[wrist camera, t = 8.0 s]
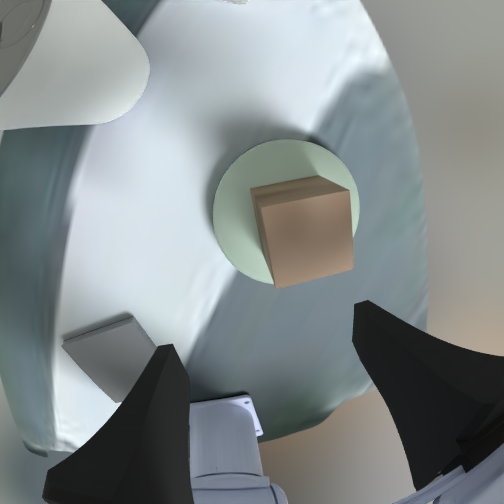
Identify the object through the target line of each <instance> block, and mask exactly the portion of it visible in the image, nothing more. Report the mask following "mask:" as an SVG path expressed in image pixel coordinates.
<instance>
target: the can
mask: <svg viewBox="0 0 504 504" xmlns="http://www.w3.org/2000/svg"><path fill="white" fill-rule="evenodd" d="M149 75H150V63H149V59H148V56H147V53H146V51H145V49H144V48H143V46H142V45H141V43H140V42H139V41H138V40H137V39H136V38H135V36H134V35H133V34H132V33H131V32H130V31H129V30H128V28H127V27H126V26H125V25H124V24H123V23H122V22H121V21H120V20H119V19H118V18H117V16H116V15H115V14H114V13H113V12H112V11H111V10H110V9H109V8H108V7H107V6H106V5H105V4H104V3H103V2H102V1H101V0H0V130H10V129H20V128H31V127H45V126H63V125H95V124H103V123H107V122H110V121H113V120H115V119H117V118H119V117H121V116H122V115H124V114H125V113H126V112H128V111H129V110H130V109H131V108H132V107H133V106H134V105H135V104H136V103H137V101H138V100H139V99H140V97H141V95H142V94H143V92H144V90H145V88H146V85H147V82H148V79H149Z"/></svg>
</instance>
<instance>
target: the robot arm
mask: <svg viewBox="0 0 504 504" xmlns="http://www.w3.org/2000/svg"><path fill="white" fill-rule="evenodd" d="M352 342H353V344H354V347H355V349H356V351H357V354H358V356H359V358H360V360H361V362H362V364H363V366H364V367H365V369H366V371H367V372H368V374H369V376H370V377H371V379H372V381H373V382H374V384H375V386H376V387H377V389H378V390H379V392H380V394H381V395H382V397H383V399H384V401H385V403H386V404H387V406H388V408H389V411H390V413H391V415H392V418H393V420H394V422H395V425H396V427H397V429H398V433H399V435H400V438H401V441H402V444H403V447H404V450H405V453H406V456H407V460H408V463H409V467H410V471H411V475H412V479H413V484H414V487H415V489H416V491H417V492H416V493H414V494H412V495H410V496H408V497H406V498H404V499H402V500H400V501H397V502H395V503H393V504H427V503H428V502H430V501H432V500H434V501H433V504H504V356H495V355H490V354H485V353H480V352H476V351H472V350H469V349H465V348H462V347H459V346H456V345H453V344H450V343H448V342H445V341H443V340H440V339H438V338H436V337H433V336H431V335H429V334H427V333H425V332H423V331H421V330H419V329H417V328H415V327H413V326H412V325H410V324H408V323H406V322H404V321H403V320H401V319H399V318H397V317H396V316H394V315H392V314H391V313H389V312H387V311H386V310H384V309H382V308H381V307H379V306H377V305H376V304H374V303H372V302H370V301H369V300H366V301H363V302H360V303H356V304H354V321H353V336H352ZM189 425H190V471H189V461H188V433H189ZM262 434H263V431H262V428H261V426H260V423H259V420H258V417H257V414H256V412H255V409H254V406H253V403H252V400H251V397H250V396H249V395H242V396H236V397H231V398H225V399H218V400H211V401H204V402H196V403H190V386H189V377H188V375H187V373H186V371H185V369H184V367H183V365H182V362H181V360H180V358H179V356H178V354H177V352H176V350H175V348H174V346H173V344H168V345H161V346H158V347H157V349H156V350H155V352H154V353H153V355H152V357H151V358H150V360H149V362H148V363H147V365H146V367H145V368H144V370H143V372H142V373H141V375H140V376H139V378H138V380H137V381H136V383H135V384H134V386H133V388H132V389H131V391H130V392H129V393H128V395H127V396H126V398H125V399H124V401H123V402H122V403H121V405H120V406H119V407H118V409H117V410H116V411H115V413H114V414H113V415H112V416H111V417H110V418H109V420H108V421H107V422H106V423H105V424H104V425H103V426H102V427H101V428H100V429H99V430H98V431H97V432H96V433H95V434H94V435H93V436H92V437H91V438H90V439H89V440H88V441H87V442H86V443H85V444H84V445H83V446H82V447H80V448H79V449H78V450H77V451H75V452H74V453H73V454H72V455H70V456H69V457H68V458H66V459H65V460H63V461H62V462H60V463H59V464H57V465H56V466H54V467H52V468H51V469H49V470H48V472H47V476H46V481H45V485H44V490H43V495H42V498H43V499H44V500H45V501H46V502H47V503H49V504H288V501H287V498H286V495H285V493H284V491H283V490H282V489H281V488H280V487H279V486H277V485H276V484H275V483H272V484H270V483H269V478H268V476H265V477H264V476H263V471H262V467H261V460H260V455H259V449H258V443H257V437H256V436H260V435H262ZM190 473H191V478H190ZM435 498H436V499H435Z"/></svg>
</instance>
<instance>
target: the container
mask: <svg viewBox="0 0 504 504" xmlns="http://www.w3.org/2000/svg"><path fill="white" fill-rule="evenodd" d="M219 1H224V2H229V3H234V4H239V5H244V4H246V3H247V2H248V0H219Z"/></svg>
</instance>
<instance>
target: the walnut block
mask: <svg viewBox="0 0 504 504" xmlns="http://www.w3.org/2000/svg"><path fill="white" fill-rule="evenodd" d="M250 192H251V197H252V202H253V207H254V212H255V217H256V222H257V227H258V233H259V238H260V243H261V248H262V253H263V256H264V259H265V261H266V264H267V266H268V269H269V272H270V274H271V277H272V280H273V282H274V285H275V288H276V289H278V288H282V287H286V286H290V285H294V284H298V283H302V282H306V281H310V280H314V279H318V278H322V277H326V276H329V275H333V274H337V273H341V272H344V271H348V270H352V269H354V259H353V231H352V213H351V199H350V190H348V189H346V188H344V187H342V186H340V185H338V184H336V183H334V182H332V181H330V180H328V179H326V178H324V177H322V176H320V175H317V176H311V177H306V178H300V179H295V180H289V181H284V182H279V183H274V184H269V185H264V186H259V187H255V188H250Z"/></svg>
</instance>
